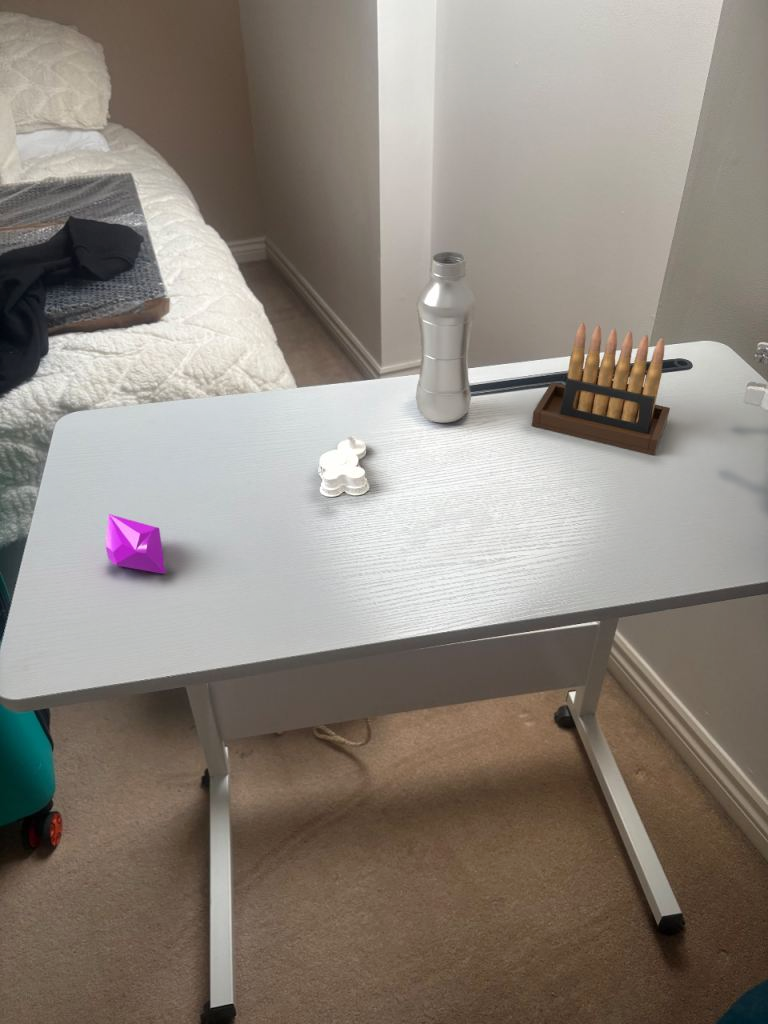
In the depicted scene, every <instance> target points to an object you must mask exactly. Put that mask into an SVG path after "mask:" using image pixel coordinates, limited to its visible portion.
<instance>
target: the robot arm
mask: <svg viewBox="0 0 768 1024" xmlns="http://www.w3.org/2000/svg"><path fill="white" fill-rule="evenodd" d="M753 360H754V362H756V363H761V364H764V365H768V342H765V341H761V342H759V343H758V344H757V346H756V349H755V353H754V356H753ZM742 402H744V403H745V404H746V405H751V406H757V407H760V408H761V409H763V410H765V411H766V412H768V388H767V384H765V383H761V382H760V383H759V382H758V383H757V382H755V381H750V382H748V383H747V385H746V388H745V390H744V394H743V398H742Z"/></svg>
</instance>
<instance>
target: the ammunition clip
mask: <svg viewBox="0 0 768 1024" xmlns="http://www.w3.org/2000/svg"><path fill="white" fill-rule="evenodd" d="M586 334H587V332H586V325H585V323H584V322H581V323H580V325H579V326H578V328H577V331H576V335H575V337H574V343H573V348H572V352H571V354H570V358H569V364H568V371H567V377H566V381H565V384H564V385H565V390H564V394H563V399H562V404H561V409H560V413H559V414H561V415H566V416H570V417H574V418H579V419H583V420H587V421H592V422H596V423H600V424H605V425H609V426H613V427H618V428H622V429H626V430H631V431H635V432H639V433H644V434H649V432H650V429H651V426H652V420H653V414H654V408H655V405H656V402H657V398H658V392H659V388H660V385H661V380H662V375H663V374H662V371H663V363H664V357H665V339H664V337H660V339H658V341H657V343H656V345H655V347H654V350H653V353H652V357H651V360H650V363H649V366H648V369H647V363H648V362H647V361H648V354H649V337H648V334H644V335H643V336H642V338H641V340H640V342H639V344H638V347H637V349H636V354H635V358H634V361H633V364H632V366H631V361H632V353H633V343H634V341H633V340H634V339H633V332H632V331H628V332H627V334H626V336H625V338H624V340H623V342H622V346H621V349H620V353H619V357H618V360H617V362H616V354H617V346H618V333H617V329H616V328H612V330H611V332H609V335H608V338H607V341H606V344H605V349H604V352H603V356H602V359H601V356H600V355H601V345H602V330H601V326H600V325H597V326H596V327H595V329H594V331H593V333H592V335H591V339H590V344H589V347H588V352H587V355H586V357H585V348H586V340H587V339H586V338H587V337H586V336H587V335H586ZM579 390H580V396H579ZM594 393H595V398H594ZM609 396H610V399H609ZM578 397H579V402H578ZM593 398H594V403H593ZM624 400H625V402H624ZM608 401H609V404H608ZM592 404H593V405H592ZM623 404H624V406H623ZM607 407H608V409H607ZM638 407H639V409H638ZM622 409H623V411H622ZM637 411H638V414H637Z"/></svg>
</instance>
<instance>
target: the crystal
mask: <svg viewBox="0 0 768 1024" xmlns="http://www.w3.org/2000/svg"><path fill="white" fill-rule="evenodd" d="M105 538H106V539H105V549H106V555H107V558H108V559H109V561H110V562H111V563H112V564H113V565H114V566H117V567H123V568H129V569H135V570H141V571H147V572H151V573H157V574H163V575H166V567H165V560H164V554H163V553H164V552H163V547H162V546H163V545H162V538H161V530H160V527H158V526H154V525H151V524H146V523H143V522H139V521H137V520H132V519H128V518H125V517H121V516H117V515H114V514H110V513H108V517H107V527H106V537H105Z"/></svg>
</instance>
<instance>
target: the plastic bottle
mask: <svg viewBox="0 0 768 1024" xmlns="http://www.w3.org/2000/svg"><path fill="white" fill-rule="evenodd" d="M430 262H431V264H430V269H429V275H430V277H431V279H429V281H428V282H427V283H426V285H425V286H424V287H423V289H422V290H421V291H420V293H419V295H418V297H417V298H418V299H417V301H416V307H417V308H416V310H417V311H416V312H417V317H418V324H419V332H420V347H421V351H420V352H421V359H420V368H419V379H418V381H417V385H416V391H415V402H416V407H417V410H418V411H419V413H420V414H421V415H422V417H424V418H425V419H426V420H428V421H431V422H434V423H441V424H446V423H454V422H456V421H459V420H460V419H462V418H463V417H465V415H466V414H467V413H468V412H469V409H470V404H471V401H472V392H471V391H472V390H471V384H470V380H469V358H468V357H469V347H470V340H471V339H470V338H471V332H472V328H473V324H474V318H475V313H476V307H477V306H476V305H477V303H476V299H475V295H474V293H473V291H472V290H471V288H470V286H469V285H468V283H467V282H466V281H465V279H464V278H465V277H466V275H467V268H466V265H467V257H466V256H465V255H464V254H462V253H461V252H460V253H459V252H455V251H440V252H437V253H435V254H433V255H432V256H431V261H430Z"/></svg>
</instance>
